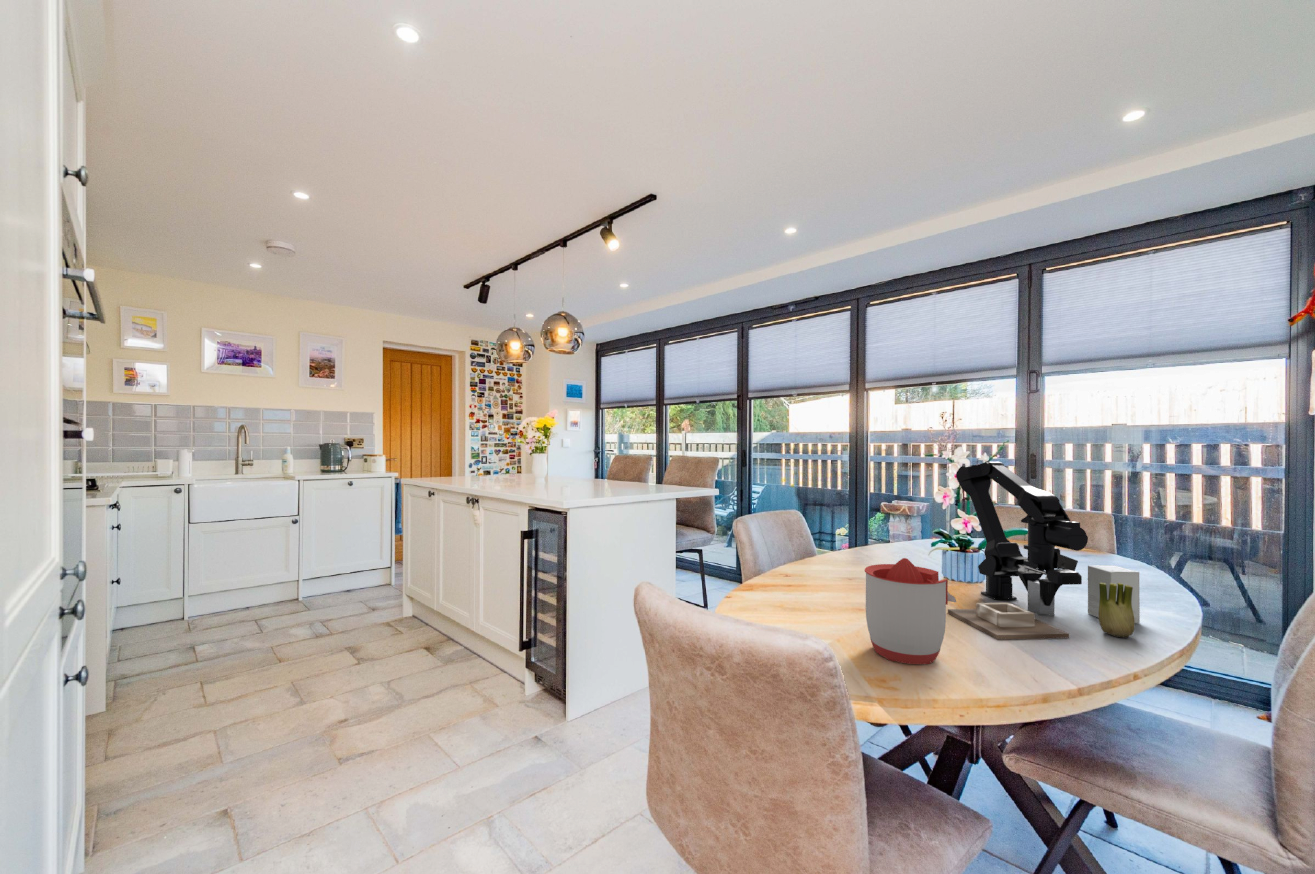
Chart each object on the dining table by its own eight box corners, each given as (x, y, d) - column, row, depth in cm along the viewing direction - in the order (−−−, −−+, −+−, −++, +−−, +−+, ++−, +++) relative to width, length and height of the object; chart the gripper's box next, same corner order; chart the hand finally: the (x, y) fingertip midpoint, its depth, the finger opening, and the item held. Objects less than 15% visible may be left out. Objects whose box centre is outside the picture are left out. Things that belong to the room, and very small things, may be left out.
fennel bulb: (1096, 633, 123) (1097, 581, 123) (1105, 629, 126) (1105, 578, 126) (1128, 641, 118) (1129, 587, 118) (1136, 637, 121) (1137, 584, 121)
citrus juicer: (969, 675, 101) (969, 569, 101) (871, 666, 104) (872, 564, 104) (942, 644, 116) (942, 552, 116) (858, 637, 120) (858, 548, 120)
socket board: (947, 613, 137) (947, 597, 137) (1010, 611, 138) (1010, 596, 138) (997, 639, 119) (997, 621, 119) (1069, 637, 120) (1069, 620, 120)
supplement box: (1141, 623, 130) (1141, 572, 130) (1110, 623, 130) (1110, 571, 130) (1115, 613, 137) (1115, 564, 137) (1086, 613, 138) (1086, 564, 138)
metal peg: (1027, 610, 140) (1027, 579, 140) (1042, 610, 140) (1042, 579, 140) (1039, 615, 136) (1039, 584, 136) (1054, 615, 136) (1054, 583, 136)
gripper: (1103, 549, 129) (1102, 614, 129) (1042, 535, 148) (1041, 592, 148) (1059, 550, 128) (1059, 615, 128) (1003, 536, 147) (1003, 592, 147)
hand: (1040, 602), depth 138 cm, fingers closed on metal peg, 4 cm apart
